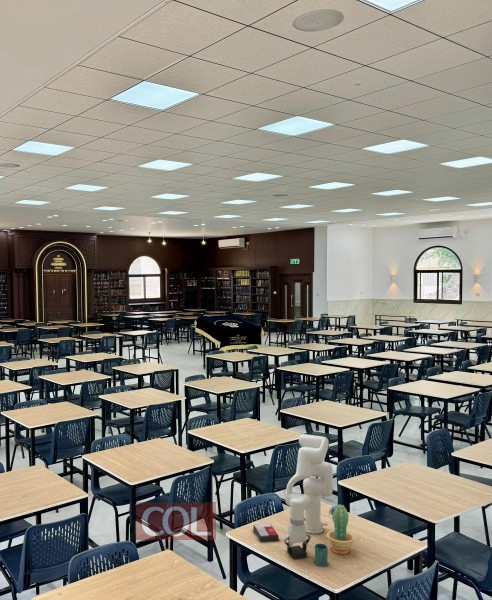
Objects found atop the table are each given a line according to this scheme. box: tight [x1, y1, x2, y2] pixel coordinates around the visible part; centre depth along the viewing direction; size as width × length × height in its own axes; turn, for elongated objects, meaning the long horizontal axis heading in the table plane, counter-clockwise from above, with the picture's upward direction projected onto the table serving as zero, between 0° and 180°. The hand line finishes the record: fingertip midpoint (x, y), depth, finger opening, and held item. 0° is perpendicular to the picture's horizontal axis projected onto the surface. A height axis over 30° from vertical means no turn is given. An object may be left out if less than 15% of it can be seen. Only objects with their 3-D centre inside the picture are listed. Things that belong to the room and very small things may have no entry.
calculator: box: [252, 523, 280, 543], centre depth 328 cm, size 11×4×15 cm
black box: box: [286, 545, 308, 560], centre depth 305 cm, size 7×9×3 cm
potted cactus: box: [326, 503, 356, 555], centre depth 309 cm, size 15×15×25 cm
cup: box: [314, 543, 329, 567], centre depth 295 cm, size 6×6×9 cm
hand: (296, 552), depth 304 cm, fingers open, 8 cm apart
